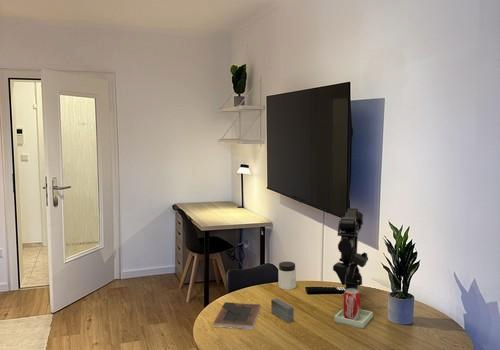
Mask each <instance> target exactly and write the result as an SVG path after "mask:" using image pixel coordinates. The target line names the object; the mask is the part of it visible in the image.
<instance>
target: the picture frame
mask: <svg viewBox="0 0 500 350" xmlns="http://www.w3.org/2000/svg"><path fill="white" fill-rule="evenodd" d="M260 310H261V304H259V303H258V304H257V303H239V302H229V301H228V302H224V304H222V307H221V309H220V311H219V313H218V314H217V316H216V317H215V319H214V321H213V322H212V327H213V326H223V327H232V328H241V329H240V330H248V329H249V330H251V331H253V330H254V327H255V324H256V321H257V319H258V316H259V312H260ZM232 328H231V329H232ZM249 330H248V331H249Z"/></svg>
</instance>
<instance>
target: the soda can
mask: <svg viewBox="0 0 500 350" xmlns="http://www.w3.org/2000/svg"><path fill="white" fill-rule="evenodd" d="M342 297H343V300H342V309H343V316H344V317H345V318H347V319H351V320H357V319H359V318H360V309H361V293H360V292H359V289H358V290H357V289H354V288H348V289H345V290H344V292H343V295H342Z"/></svg>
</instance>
